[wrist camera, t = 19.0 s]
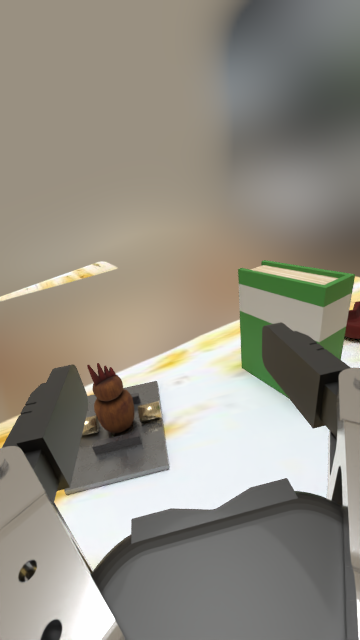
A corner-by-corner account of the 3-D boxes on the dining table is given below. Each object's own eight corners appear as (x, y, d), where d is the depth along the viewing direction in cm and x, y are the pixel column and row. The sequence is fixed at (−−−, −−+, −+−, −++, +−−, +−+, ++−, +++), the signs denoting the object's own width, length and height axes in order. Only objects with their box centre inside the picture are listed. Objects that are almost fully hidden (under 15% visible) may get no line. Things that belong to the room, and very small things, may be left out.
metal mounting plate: (157, 384, 59) (154, 370, 57) (169, 468, 40) (165, 452, 38) (88, 399, 57) (83, 385, 56) (66, 494, 39) (57, 478, 37)
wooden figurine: (102, 442, 45) (75, 376, 39) (103, 418, 50) (80, 356, 44) (139, 431, 46) (120, 365, 40) (137, 409, 51) (119, 346, 45)
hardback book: (241, 367, 60) (238, 269, 50) (263, 355, 63) (264, 260, 53) (310, 412, 46) (325, 287, 36) (334, 393, 49) (355, 274, 39)
